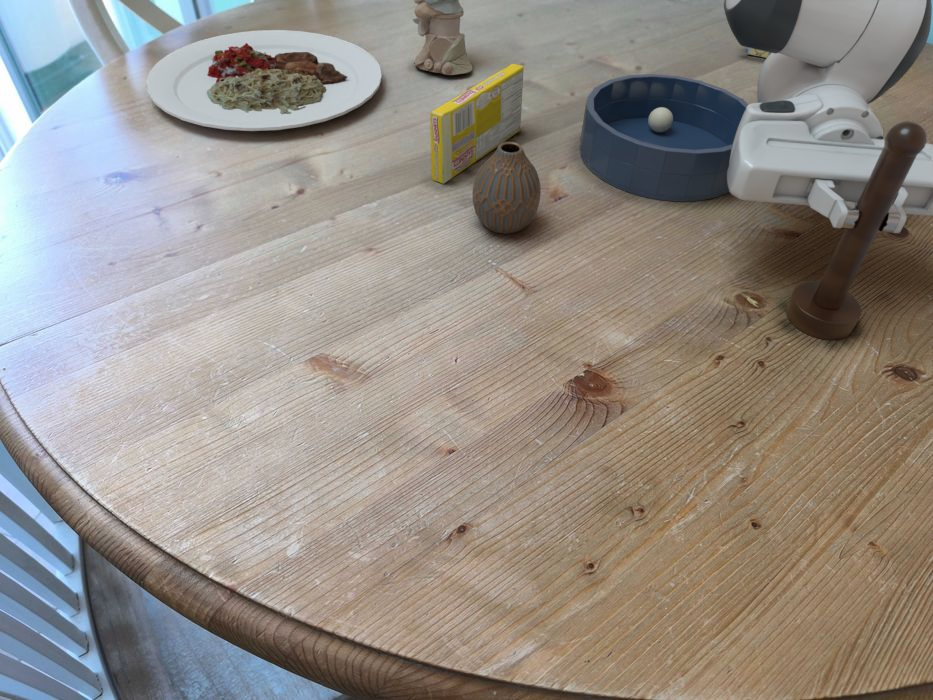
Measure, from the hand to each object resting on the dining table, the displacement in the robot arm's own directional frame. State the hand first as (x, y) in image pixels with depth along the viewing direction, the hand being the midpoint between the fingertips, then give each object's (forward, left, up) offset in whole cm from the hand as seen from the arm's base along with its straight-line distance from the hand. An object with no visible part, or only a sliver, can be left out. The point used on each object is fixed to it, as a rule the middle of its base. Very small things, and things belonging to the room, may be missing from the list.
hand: (870, 223), depth 61 cm
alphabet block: (-6, -64, -11) cm, 65 cm away
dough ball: (+12, -34, -9) cm, 38 cm away
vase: (+30, -12, -11) cm, 34 cm away
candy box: (+34, -26, -11) cm, 44 cm away
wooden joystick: (0, -1, -11) cm, 11 cm away
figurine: (+41, -50, -11) cm, 66 cm away
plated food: (+63, -39, -11) cm, 75 cm away
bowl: (+12, -29, -11) cm, 33 cm away
